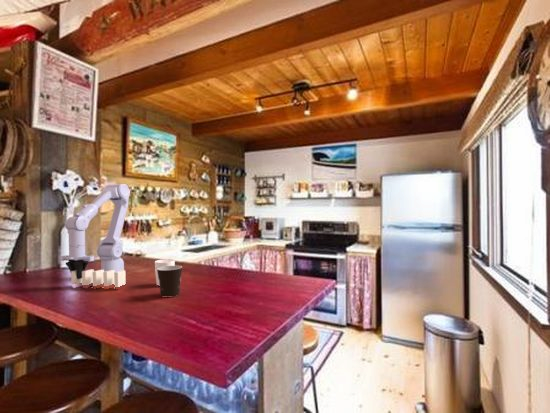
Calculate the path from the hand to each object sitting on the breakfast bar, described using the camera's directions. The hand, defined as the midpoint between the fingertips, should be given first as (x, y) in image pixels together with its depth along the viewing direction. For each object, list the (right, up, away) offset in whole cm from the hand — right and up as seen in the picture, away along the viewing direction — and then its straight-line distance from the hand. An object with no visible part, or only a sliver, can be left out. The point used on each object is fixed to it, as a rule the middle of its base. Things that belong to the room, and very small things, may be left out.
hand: (77, 278), depth 126 cm
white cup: (+36, -3, +1) cm, 36 cm away
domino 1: (0, -4, 0) cm, 4 cm away
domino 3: (+10, -3, -2) cm, 11 cm away
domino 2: (+5, -4, -1) cm, 6 cm away
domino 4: (+15, -3, -3) cm, 15 cm away
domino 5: (+20, -3, -4) cm, 20 cm away
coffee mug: (+43, -3, -13) cm, 45 cm away
